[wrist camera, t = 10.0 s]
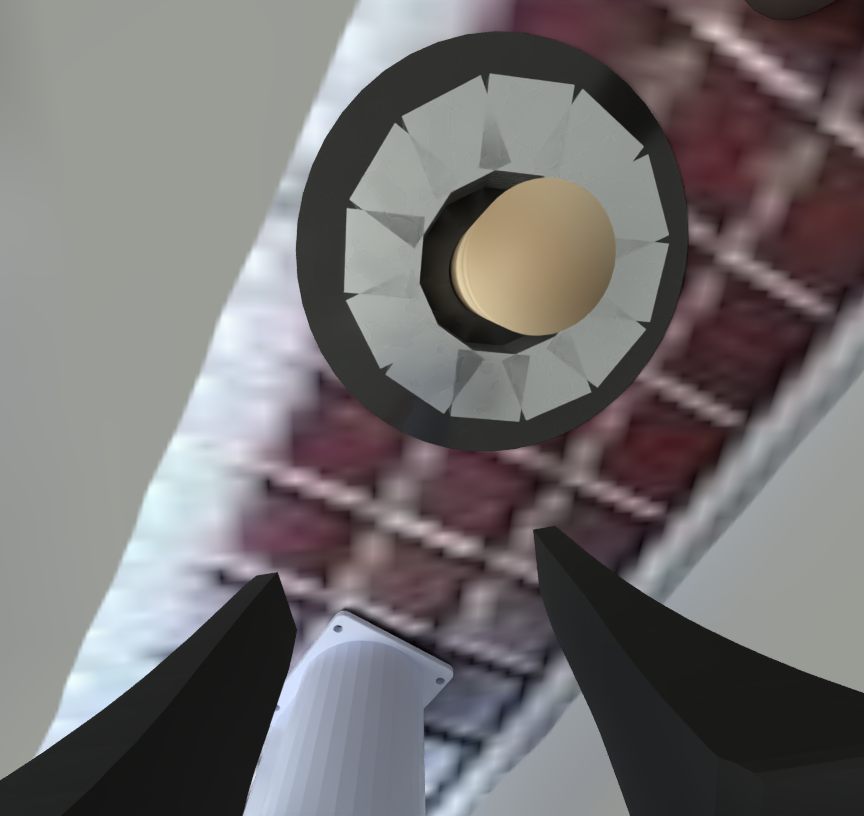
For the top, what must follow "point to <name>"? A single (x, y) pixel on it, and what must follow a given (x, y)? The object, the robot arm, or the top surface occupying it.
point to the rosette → (457, 211)
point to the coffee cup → (788, 7)
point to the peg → (536, 258)
